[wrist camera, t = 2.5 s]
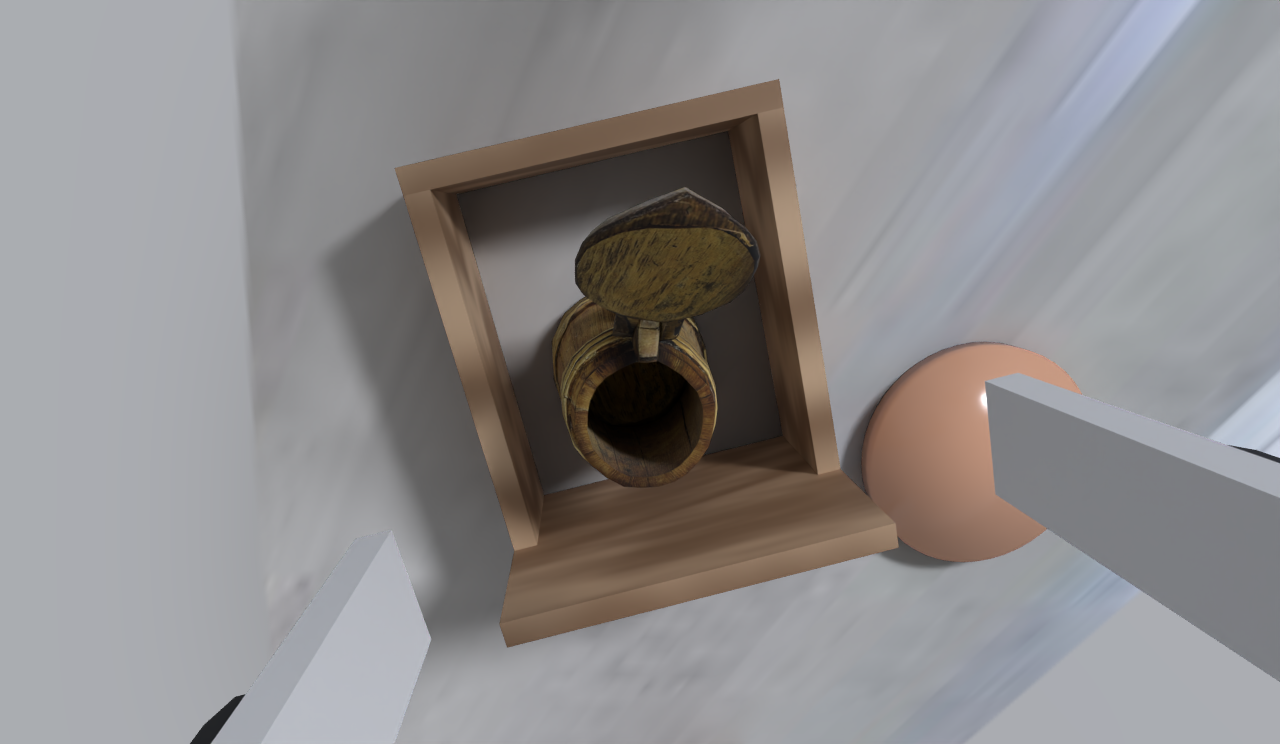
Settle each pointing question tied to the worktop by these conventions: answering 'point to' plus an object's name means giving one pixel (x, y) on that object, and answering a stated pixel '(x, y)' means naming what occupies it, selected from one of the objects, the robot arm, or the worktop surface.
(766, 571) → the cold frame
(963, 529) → the peach round disc
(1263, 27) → the worktop surface
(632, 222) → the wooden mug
